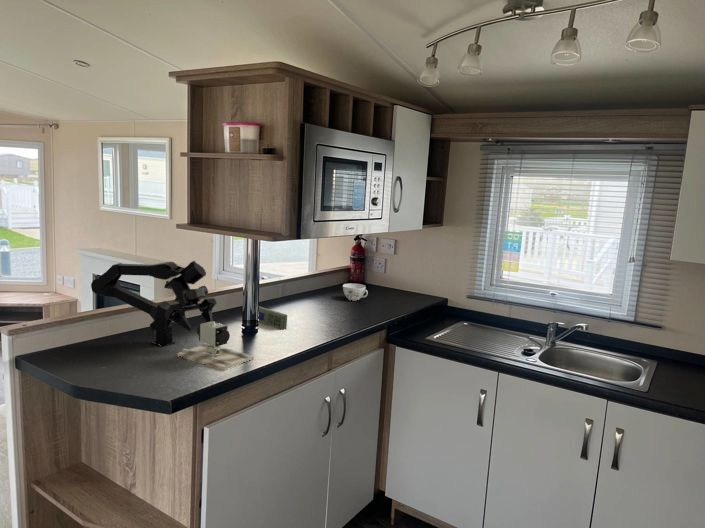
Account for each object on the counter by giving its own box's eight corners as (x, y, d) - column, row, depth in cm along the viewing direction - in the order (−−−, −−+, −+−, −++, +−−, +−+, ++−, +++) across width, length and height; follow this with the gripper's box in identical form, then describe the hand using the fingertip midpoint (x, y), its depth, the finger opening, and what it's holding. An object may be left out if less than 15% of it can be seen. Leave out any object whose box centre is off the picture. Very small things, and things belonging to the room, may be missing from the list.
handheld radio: (281, 330, 213) (244, 318, 229) (287, 329, 216) (250, 317, 232) (282, 315, 212) (245, 303, 228) (288, 314, 215) (251, 303, 231)
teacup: (337, 299, 276) (338, 285, 275) (350, 296, 287) (351, 282, 285) (360, 304, 268) (361, 289, 267) (372, 300, 278) (373, 286, 277)
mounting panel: (177, 356, 175) (177, 350, 175) (208, 346, 187) (208, 341, 187) (224, 370, 164) (224, 364, 164) (253, 359, 176) (253, 353, 176)
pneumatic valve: (219, 361, 169) (219, 326, 168) (196, 353, 176) (196, 319, 174) (231, 357, 174) (232, 323, 172) (208, 349, 180) (209, 316, 179)
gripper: (169, 281, 172) (189, 320, 167) (214, 276, 187) (233, 311, 182) (155, 300, 177) (174, 337, 173) (200, 293, 192) (218, 327, 188)
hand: (201, 327), depth 179 cm, fingers open, 9 cm apart
